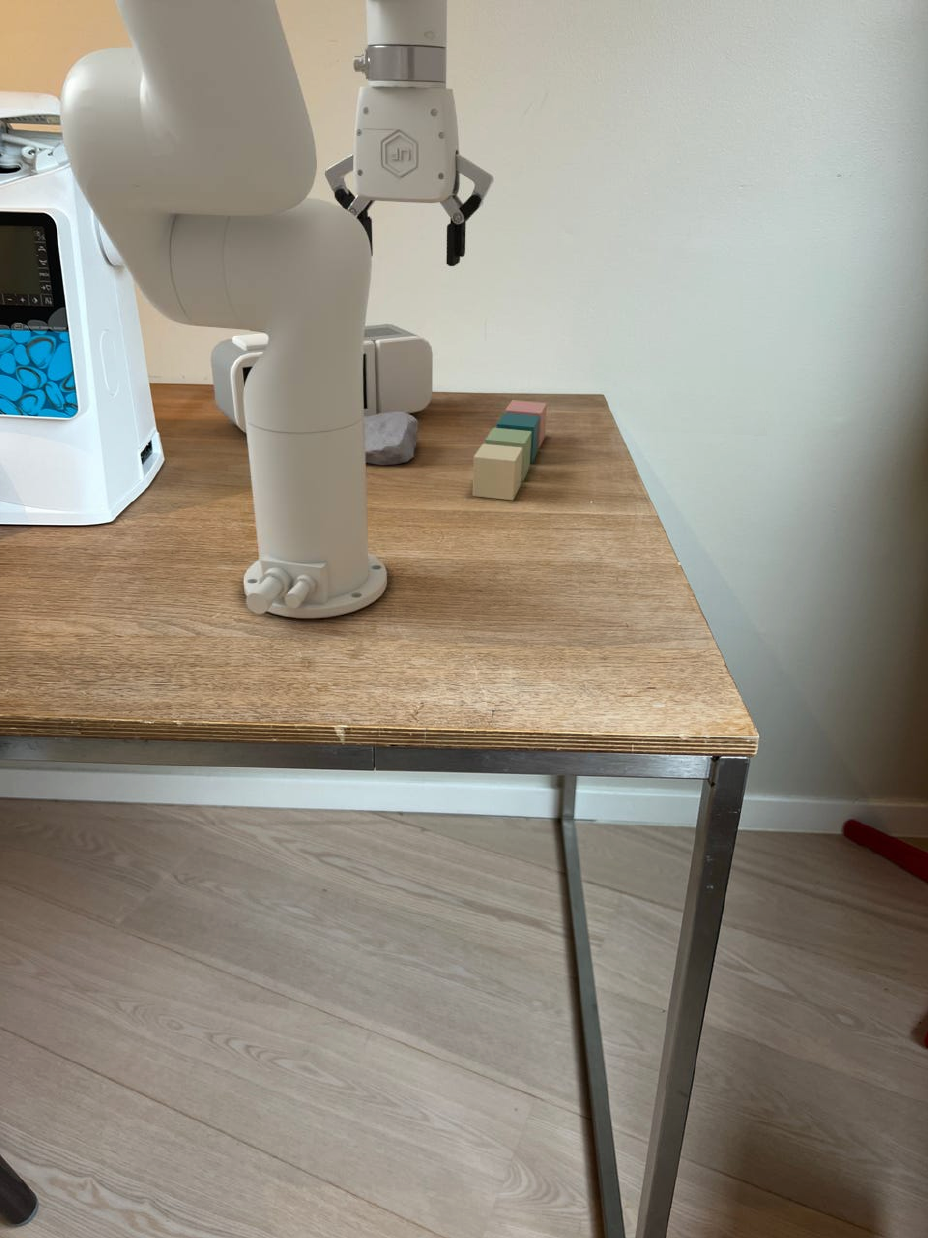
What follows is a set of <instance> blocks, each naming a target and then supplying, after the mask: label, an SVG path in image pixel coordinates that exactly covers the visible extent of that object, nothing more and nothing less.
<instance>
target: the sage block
mask: <svg viewBox="0 0 928 1238" xmlns="http://www.w3.org/2000/svg"><path fill="white" fill-rule="evenodd" d="M531 434H532V431H524V430H513V429H503V428H496V427H492V429H491V431H490V432H489V433H488V435H487V436H486V437H485V439H484V444H492V445H502V446H513V447H522V448H523V451H522V469H521V483H522V482H524V479H525V477H526V476H527V474H528V472H529V470H530V465H531V463H530V450H531Z"/></svg>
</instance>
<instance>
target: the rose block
mask: <svg viewBox="0 0 928 1238" xmlns="http://www.w3.org/2000/svg"><path fill="white" fill-rule="evenodd" d="M547 410H548V403H547V402H539V401H528V400H527V401H526V400H517V399H512V400H511V401H510V403H509V404H508V406H507V407H506V409H504V413H511V414H522V415H533V416H540V427H539V442H538V449H540V447H541V446H542V444H543V442H544V440H545V438H546V428H547V427H546V426H547Z"/></svg>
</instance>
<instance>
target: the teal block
mask: <svg viewBox="0 0 928 1238" xmlns="http://www.w3.org/2000/svg"><path fill="white" fill-rule="evenodd" d="M539 427H540V416H533V415H522V414H511V413H505V412H503V413H502V415H501V416H500V418H499V419H498V420H497V422H496V425H495V428H503V429H513V430H524V431H532V434H531V450H530V464H533V462H534V460H535V458H536V456H537V454H538V452H539V448H538V442H539Z"/></svg>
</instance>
